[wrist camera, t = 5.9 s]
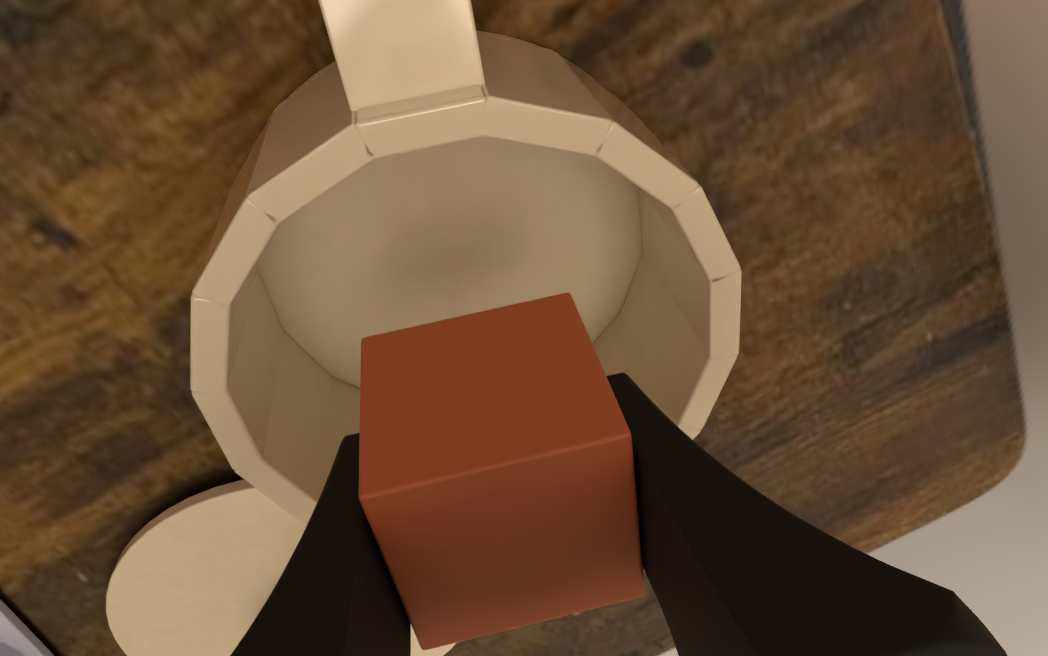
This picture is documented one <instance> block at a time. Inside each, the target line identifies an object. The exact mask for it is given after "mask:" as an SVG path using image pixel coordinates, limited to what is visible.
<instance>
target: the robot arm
mask: <svg viewBox="0 0 1048 656" xmlns="http://www.w3.org/2000/svg"><path fill="white" fill-rule="evenodd" d="M606 377H607V379H608V381H609V384H610V386H611V388H612V391H613V393H614V395H615V397H616V400H617V402H618V404H619V407H620V409H621V411H622V414H623V416H624V418H625V421H626V423H627V425H628V428H629V430H630V432H631V436H632V448H633V460H634V472H635V484H636V496H637V508H638V520H639V532H640V544H641V556H642V566H643V568H644V570H645V572H646V575H647V577H648V579H649V581H650V583H651V586H652V588H653V590H654V592H655V595H656V597H657V599H658V601H659V604H660V606H661V608H662V611H663V613H664V616H665V618H666V621H667V623H668V626H669V628H670V631H671V634H672V637H673V640H674V643H675V646H676V649H677V652H678V655H679V656H1007V654H1006V652H1005V651H1004V649H1003V648H1002V647H1001V646H1000V644H999V643H998V642H997V641H996V639H995V638H994V637H993V635H992V634H991V633H990V631H989V630H988V629H987V628H986V627H985V625H984V624H983V623H982V622H981V621H980V620H979V618H978V617H977V616H976V615H975V614H974V613H973V612H972V611H971V610H970V609H969V608H968V607H967V606H966V605H965V604H964V603H963V602H962V600H961V599H960V598H959V597H958V596H957V595H956V594H955V593H954V592H953V591H951V590H949V589H946V588H944V587H941V586H939V585H937V584H934V583H932V582H929V581H926V580H924V579H922V578H919V577H917V576H915V575H912V574H910V573H907V572H905V571H902V570H900V569H897V568H895V567H893V566H890V565H888V564H886V563H884V562H882V561H879V560H877V559H875V558H873V557H871V556H869V555H867V554H865V553H863V552H861V551H859V550H857V549H854V548H852V547H850V546H849V545H847V544H845V543H843V542H841V541H840V540H838V539H836V538H834V537H832V536H830V535H829V534H827V533H825V532H823V531H821V530H820V529H818V528H816V527H814V526H812V525H810V524H809V523H807V522H805V521H803V520H802V519H800V518H798V517H797V516H795V515H794V514H792V513H790V512H789V511H787V510H786V509H784V508H782V507H781V506H779V505H778V504H776V503H774V502H773V501H772V500H770V499H769V498H767V497H766V496H764V495H763V494H761V493H760V492H758V491H757V490H755V489H754V488H752V487H751V486H750V485H748V484H747V483H746V482H744V481H743V480H741V479H740V478H739V477H737V476H736V475H735V474H733V473H732V472H731V471H730V470H728V469H727V468H726V467H725V466H723V465H722V464H721V463H720V462H718V461H717V460H716V459H715V458H713V457H712V456H711V455H710V454H708V453H707V452H706V451H705V450H704V449H703V448H701V447H700V446H699V445H698V444H697V443H696V442H695V441H693V440H692V439H691V438H690V437H689V436H688V435H687V434H686V433H684V432H683V431H682V430H681V429H680V428H679V427H678V426H677V425H676V424H675V423H674V422H672V421H671V420H670V419H669V418H668V417H667V416H666V415H665V414H664V413H663V412H662V411H661V410H660V409H659V408H658V407H657V406H656V405H655V404H654V403H653V402H652V401H651V400H650V399H649V398H648V397H647V395H646V394H645V393H644V392H643V391H642V390H641V389H640V388H639V387H638V386H637V385H636V383H635V382H634V381H633V380H632V379H631V378H630V376H628V375H627V374H625V373H623V372H622V373H618V374H613V375H609V376H606ZM359 438H360V433H356V434H351V435H347V436H345V437H344V438H343V440H342V441H341V443H340V446H339V449H338V452H337V455H336V457H335V460H334V463H333V466H332V468H331V471H330V473H329V476H328V478H327V481H326V483H325V486H324V488H323V490H322V493H321V495H320V498H319V500H318V502H317V504H316V506H315V509H314V511H313V513H312V515H311V517H310V520H309V522H308V524H307V526H306V528H305V530H304V533H303V535H302V537H301V539H300V541H299V543H298V544H297V546H296V548H295V550H294V552H293V554H292V556H291V558H290V560H289V562H288V564H287V565H286V567H285V569H284V571H283V573H282V575H281V577H280V578H279V580H278V582H277V584H276V585H275V587H274V589H273V591H272V592H271V594H270V596H269V597H268V599H267V601H266V602H265V604H264V606H263V607H262V609H261V610H260V612H259V614H258V615H257V617H256V618H255V620H254V621H253V623H252V625H251V626H250V628H249V629H248V631H247V632H246V634H245V635H244V636H243V638H242V639H241V641H240V642H239V644H238V645H237V647H236V648H235V649H234V651H233V652H232V654H231V655H230V656H411V623H410V621H409V618H408V616H407V613H406V611H405V609H404V606H403V604H402V601H401V599H400V597H399V594H398V592H397V589H396V587H395V584H394V582H393V580H392V577H391V575H390V572H389V570H388V568H387V565H386V563H385V560H384V558H383V556H382V553H381V551H380V548H379V546H378V544H377V541H376V539H375V536H374V534H373V532H372V529H371V527H370V524H369V522H368V519H367V517H366V515H365V512H364V510H363V507H362V505H361V503H360V500H359ZM0 656H54V655H53V654H52V653H51V651H50V650H49V649H48V648H47V647H46V646H45V645H44V644H43V643H42V642H41V641H40V640H39V639H38V638H37V637H36V636H35V635H34V634H33V633H32V632H31V631H30V630H29V629H28V627H27V626H26V625H25V624H24V623H23V622H22V621H21V620H20V619H19V618H18V617H17V616H16V615H15V614H14V613H13V612H12V611H11V610H10V609H9V608H8V607H7V606H6V605H5V603H4V602H3V601H2V600H1V599H0Z"/></svg>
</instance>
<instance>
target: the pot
mask: <svg viewBox="0 0 1048 656" xmlns="http://www.w3.org/2000/svg"><path fill="white" fill-rule="evenodd" d="M318 2H319V5H320V9H321V12H322V16H323V19H324V22H325V26H326V29H327V33H328V36H329V40H330V43H331V46H332V50H333V53H334V57H335V60H336V61H334V62H333V63H331V64H329V65H328V66H326V67H324V68H323V69H321V70H320V71H318V72H316V73H315V74H314V75H313V76H312V77H310V78H309V79H308V80H307V81H306V82H304V83H303V84H302V85H301V86H299V87H298V88H297V89H296V90H295V91H293V92H292V93H291V94H290V96H289V97H288V98H287V99H286V100H284V101H283V102H281V103H280V104H279V105H277V107H276V109H275V110H273V112H272V114H271V116H270V118H269V119H268V121H267V123H266V125H265V126H264V128H263V129H262V131H261V133H260V134H259V136H258V137H257V139H256V140H255V142H254V144H253V147H252V149H251V151H250V153H249V155H248V157H247V159H246V161H245V163H244V165H243V166H242V168H241V170H240V172H239V174H238V175H237V177H236V179H235V181H234V183H233V184H232V187H231V190H230V192H229V195H228V198H227V200H226V203H225V206H224V208H223V211H222V213H221V216H220V219H219V221H218V224H217V227H216V229H215V232H214V234H213V237H212V240H211V242H210V245H209V248H208V250H207V253H206V256H205V258H204V261H203V263H202V266H201V269H200V271H199V274H198V277H197V279H196V282H195V284H194V287H193V290H192V295H191V297H190V389H191V391H192V396H193V398H194V399H195V401H196V403H197V405H198V407H199V409H200V410H201V412H202V414H203V416H204V418H205V420H206V421H207V423H208V425H209V427H210V429H211V431H212V432H213V434H214V436H215V438H216V440H217V442H218V443H219V445H220V447H221V449H222V451H223V452H224V454H225V456H226V458H227V460H228V462H229V463H230V465H231V467H232V469H234V470H235V473H236V474H238V475H239V476H240V477H242V478H243V479H244V480H246V481H247V482H248V483H250V484H251V485H252V486H254V487H255V488H256V489H258V490H259V491H260V492H262V493H263V494H264V495H266V496H267V497H268V498H270V499H271V500H272V501H274V502H275V503H276V504H278V505H279V506H280V507H282V508H283V509H284V510H286V511H287V512H288V513H290V514H291V515H292V516H294V517H295V518H296V519H298V520H299V521H300V522H302V523H306V524H308V522H309V520H310V517H311V515H312V513H313V511H314V509H315V506H316V504H317V502H318V500H319V498H320V495H321V493H322V490H323V488H324V486H325V483H326V481H327V478H328V476H329V473H330V471H331V468H332V466H333V463H334V460H335V457H336V455H337V452H338V449H339V446H340V443H341V441H342V440H343V438H344V437H345V436H347V435H351V434H356V433H360V373H361V340H362V338H364V337H368V336H373V335H377V334H382V333H386V332H391V331H395V330H400V329H404V328H409V327H413V326H418V325H422V324H427V323H431V322H436V321H441V320H445V319H450V318H454V317H459V316H463V315H468V314H472V313H477V312H481V311H486V310H490V309H495V308H499V307H504V306H508V305H513V304H517V303H522V302H526V301H531V300H535V299H540V298H544V297H549V296H553V295H558V294H562V293H570V294H571V296H572V298H573V300H574V302H575V305H576V307H577V309H578V312H579V314H580V316H581V319H582V321H583V323H584V326H585V328H586V330H587V333H588V335H589V337H590V340H591V342H592V344H593V347H594V349H595V351H596V353H597V356H598V358H599V360H600V363H601V365H602V367H603V370H604V372H605V374H606V376H609V375H613V374H618V373H622V372H623V373H625V374H627V375H628V376H630V378H631V379H632V380H633V381H634V382H635V383H636V385H637V386H638V387H639V388H640V389H641V390H642V391H643V392H644V393H645V394H646V395H647V397H648V398H649V399H650V400H651V401H652V402H653V403H654V404H655V405H656V406H657V407H658V408H659V409H660V410H661V411H662V412H663V413H664V414H665V415H666V416H667V417H668V418H669V419H670V420H671V421H672V422H674V423H675V424H676V425H677V426H678V427H679V428H680V429H681V430H682V431H683V432H684V433H686V434H687V435H688V436H689V437H690V438H691V439H692V440H693V439H694V438H695V437H696V436H697V435H698V434H699V433H700V431H701V429H702V428H703V427H704V425H705V423H706V420H707V418H708V416H709V414H710V412H711V410H712V408H713V406H714V404H715V402H716V400H717V398H718V396H719V394H720V392H721V389H722V387H723V385H724V383H725V381H726V379H727V377H728V375H729V373H730V371H731V369H732V367H733V365H734V363H735V361H736V358H737V355H738V354H739V334H740V303H741V273H742V271H741V269H740V265H739V262H738V260H737V258H736V256H735V254H734V252H733V250H732V248H731V246H730V244H729V242H728V240H727V238H726V236H725V234H724V232H723V230H722V227H721V225H720V223H719V221H718V219H717V217H716V215H715V213H714V211H713V209H712V207H711V205H710V203H709V201H708V199H707V197H706V195H705V192H704V190H703V188H702V187H701V185H700V184H699V183H698V182H697V181H696V180H695V179H694V178H693V177H692V176H691V174H690V173H689V172H688V171H687V170H686V169H685V168H684V167H683V166H682V165H681V164H680V163H679V161H678V160H677V159H676V158H675V157H674V156H673V155H672V154H671V153H670V152H669V151H668V150H667V149H666V147H665V146H664V145H663V144H662V143H661V142H660V141H659V140H658V139H657V138H656V137H655V136H654V134H653V133H652V132H651V131H650V130H649V129H648V128H647V127H646V126H645V125H644V124H643V123H642V122H641V120H640V119H639V118H638V117H637V116H636V115H635V114H634V113H633V112H632V111H631V110H630V109H629V107H628V106H627V105H626V104H625V103H624V102H622V101H621V100H620V99H618V98H617V97H616V96H614V95H613V94H612V93H610V92H609V91H608V90H606V89H605V88H604V87H603V86H601V85H600V84H599V83H598V82H597V81H596V80H595V79H593V78H592V77H591V76H590V75H589V74H588V73H587V72H585V71H584V70H582V69H580V68H579V67H577V66H576V65H574V64H573V63H571V62H570V61H568V60H567V59H565V58H564V57H563V56H561V55H560V54H559V53H556V52H554V51H553V50H551V49H547V48H542V47H540V46H538V45H536V44H533V43H530V42H527V41H523V40H520V39H517V38H513V37H510V36H507V35H503V34H496V33H489V32H483V31H476V26H475V20H474V14H473V9H472V3H471V0H318Z"/></svg>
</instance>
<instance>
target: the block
mask: <svg viewBox="0 0 1048 656" xmlns="http://www.w3.org/2000/svg"><path fill="white" fill-rule="evenodd" d="M359 500H360V503H361V505H362V507H363V510H364V512H365V515H366V517H367V519H368V522H369V524H370V527H371V529H372V532H373V534H374V536H375V539H376V541H377V544H378V546H379V548H380V551H381V553H382V556H383V558H384V560H385V563H386V565H387V568H388V570H389V572H390V575H391V577H392V580H393V582H394V584H395V587H396V589H397V592H398V594H399V597H400V599H401V601H402V604H403V606H404V609H405V611H406V613H407V616H408V618H409V621H410V623H411V625H412V628H413V630H414V633H415V635H416V637H417V640H418V642H419V645H420V647H421V649H422V650H429V649H433V648H437V647H441V646H445V645H449V644H453V643H457V642H461V641H465V640H469V639H473V638H477V637H481V636H485V635H489V634H493V633H497V632H501V631H505V630H509V629H513V628H518V627H522V626H526V625H530V624H534V623H538V622H542V621H546V620H550V619H554V618H558V617H562V616H566V615H570V614H574V613H578V612H582V611H586V610H590V609H594V608H598V607H602V606H606V605H610V604H614V603H618V602H623V601H627V600H631V599H635V598H639V597H642V596H643V595H644V580H643V568H642V556H641V544H640V532H639V520H638V508H637V496H636V484H635V472H634V460H633V448H632V436H631V432H630V430H629V428H628V425H627V423H626V421H625V418H624V416H623V414H622V411H621V409H620V407H619V404H618V402H617V400H616V397H615V395H614V393H613V391H612V388H611V386H610V384H609V381H608V379H607V377H606V374H605V372H604V370H603V367H602V365H601V363H600V360H599V358H598V356H597V353H596V351H595V349H594V347H593V344H592V342H591V340H590V337H589V335H588V333H587V330H586V328H585V326H584V323H583V321H582V319H581V316H580V314H579V312H578V309H577V307H576V305H575V302H574V300H573V298H572V296H571V294H570V293H562V294H558V295H553V296H549V297H544V298H540V299H535V300H531V301H526V302H522V303H517V304H513V305H508V306H504V307H499V308H495V309H490V310H486V311H481V312H477V313H472V314H468V315H463V316H459V317H454V318H450V319H445V320H441V321H436V322H431V323H427V324H422V325H418V326H413V327H409V328H404V329H400V330H395V331H391V332H386V333H382V334H377V335H373V336H368V337H364V338H362V340H361V373H360V438H359Z"/></svg>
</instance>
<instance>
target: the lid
mask: <svg viewBox="0 0 1048 656" xmlns="http://www.w3.org/2000/svg"><path fill="white" fill-rule="evenodd" d="M306 526H307V524H306V523H302V522H300V521H299V520H298V519H296V518H295V517H294V516H292V515H291V514H290V513H288V512H287V511H286V510H284V509H283V508H282V507H280V506H279V505H278V504H276V503H275V502H274V501H272V500H271V499H270V498H268V497H267V496H266V495H264V494H263V493H262V492H260V491H259V490H258V489H256V488H255V487H254V486H252V485H251V484H250V483H248V482H247V481H246V480H244V479H243V480H238V481H235V482H231V483H228V484H224V485H221V486H217V487H214V488H211V489H209V490H206V491H204V492H201V493H198V494H196V495H193V496H191V497H189V498H187V499H185V500H183V501H181V502H179V503H177V504H176V505H174V506H172V507H170V508H168V509H167V510H165V511H164V512H162V513H161V514H160V515H158V516H157V517H155V518H154V519H152V520H151V521H150V522H149V523H147V524H146V525H145V526H144V527H143V528H142V529H141V530H140V531H139V532H138V533H137V534H136V535H135V536H134V537H133V538H132V539H131V541H130V542H129V543H128V544H127V546H126V547H125V548H124V550H123V551H122V552H121V554H120V556H119V558H118V560H117V562H116V564H115V566H114V568H113V571H112V574H111V577H110V581H109V585H108V588H107V592H106V614H107V618H108V623H109V627H110V629H111V631H112V634H113V636H114V638H115V640H116V642H117V643H118V645H119V646H120V647H121V649H122V650H123V652H124V653H125V654H126V655H127V656H230V655H231V654H232V652H233V651H234V649H235V648H236V647H237V645H238V644H239V642H240V641H241V639H242V638H243V636H244V635H245V634H246V632H247V631H248V629H249V628H250V626H251V625H252V623H253V621H254V620H255V618H256V617H257V615H258V614H259V612H260V610H261V609H262V607H263V606H264V604H265V602H266V601H267V599H268V597H269V596H270V594H271V592H272V591H273V589H274V587H275V585H276V584H277V582H278V580H279V578H280V577H281V575H282V573H283V571H284V569H285V567H286V565H287V564H288V562H289V560H290V558H291V556H292V554H293V552H294V550H295V548H296V546H297V544H298V543H299V541H300V539H301V537H302V535H303V533H304V530H305V528H306ZM455 644H456V643H453V644H449V645H445V646H441V647H437V648H433V649H429V650H422V649H421V647H420V645H419V642H418V640H417V637H416V635H415V633H414V630H413V628H412V625H411V656H444V655H445V654H446V653H447V652H448V651H449V650H450V649H451V648H452V647H453V646H454V645H455Z"/></svg>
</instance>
